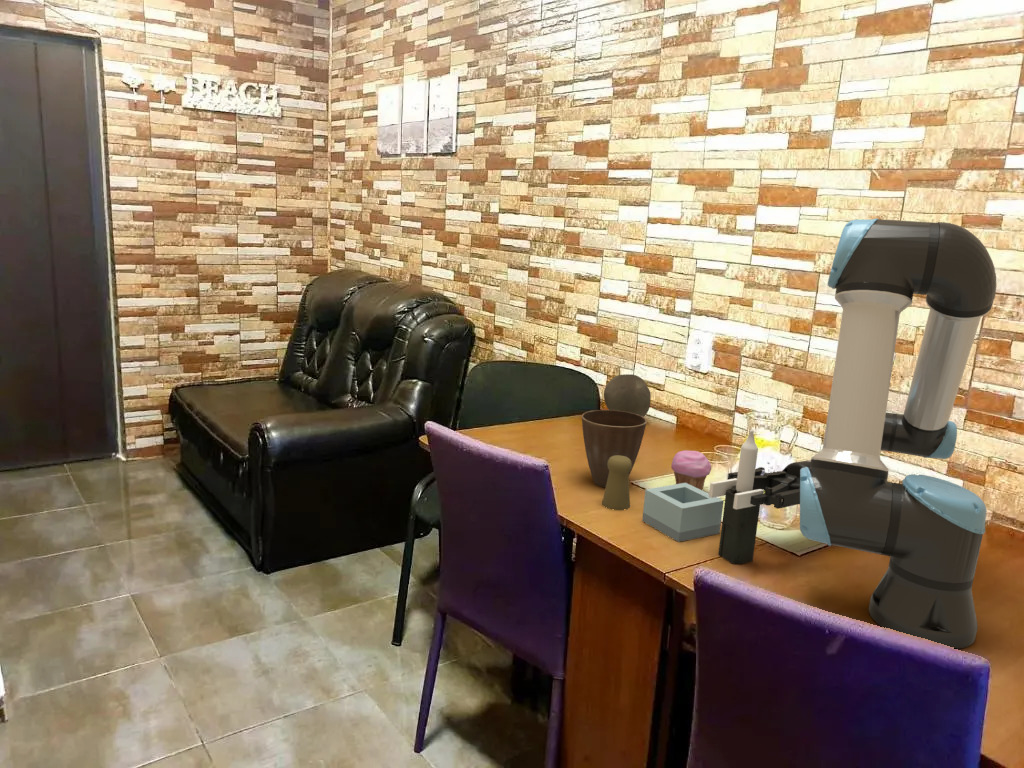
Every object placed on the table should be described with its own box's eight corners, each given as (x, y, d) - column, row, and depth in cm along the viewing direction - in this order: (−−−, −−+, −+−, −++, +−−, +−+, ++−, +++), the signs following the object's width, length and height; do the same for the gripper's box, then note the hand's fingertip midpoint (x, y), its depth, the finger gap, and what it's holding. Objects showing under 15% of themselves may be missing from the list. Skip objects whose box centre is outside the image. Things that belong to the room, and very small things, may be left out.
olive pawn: (629, 511, 159) (633, 462, 156) (600, 508, 160) (605, 459, 158) (630, 501, 165) (635, 454, 162) (603, 498, 166) (607, 451, 163)
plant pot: (591, 496, 167) (596, 427, 163) (567, 473, 181) (572, 410, 177) (651, 492, 171) (658, 425, 168) (624, 471, 185) (629, 408, 181)
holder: (719, 533, 150) (723, 500, 149) (678, 542, 145) (682, 508, 143) (682, 513, 160) (685, 482, 158) (642, 521, 154) (645, 489, 153)
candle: (715, 553, 141) (731, 426, 135) (736, 549, 143) (752, 424, 137) (734, 565, 136) (751, 434, 131) (755, 561, 138) (773, 432, 133)
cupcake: (691, 502, 167) (696, 459, 164) (661, 490, 173) (665, 449, 171) (715, 494, 172) (720, 453, 170) (684, 483, 179) (689, 443, 177)
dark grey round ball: (623, 413, 241) (627, 368, 238) (657, 424, 231) (662, 377, 227) (593, 419, 232) (596, 372, 229) (627, 430, 222) (631, 381, 218)
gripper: (847, 514, 139) (759, 534, 127) (769, 482, 154) (685, 497, 143) (853, 476, 137) (765, 493, 126) (774, 448, 153) (689, 460, 141)
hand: (723, 495), depth 134 cm, fingers closed on candle, 5 cm apart
